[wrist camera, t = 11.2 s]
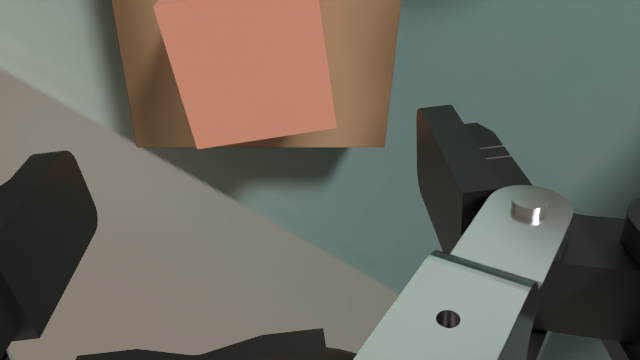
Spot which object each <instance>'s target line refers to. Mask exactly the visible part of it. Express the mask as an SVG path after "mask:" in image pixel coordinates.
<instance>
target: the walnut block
mask: <svg viewBox="0 0 640 360" xmlns="http://www.w3.org/2000/svg"><path fill="white" fill-rule="evenodd" d="M157 1H158V0H112V6H113V11H114V17H115V23H116V29H117V35H118V41H119V46H120V52H121V58H122V64H123V70H124V76H125V82H126V87H127V93H128V99H129V105H130V111H131V117H132V122H133V128H134V134H135V140H136V146H137V147H196V144H195V141H194V137H193V134H192V131H191V128H190V124H189V121H188V118H187V115H186V112H185V108H184V105H183V102H182V99H181V95H180V92H179V89H178V86H177V83H176V79H175V76H174V73H173V70H172V66H171V63H170V60H169V57H168V54H167V50H166V47H165V44H164V41H163V37H162V34H161V31H160V28H159V25H158V21H157V18H156V15H155V12H154V8H153V6H154V5H155V4H156V3H157ZM319 5H320V12H321V20H322V27H323V34H324V41H325V48H326V55H327V62H328V69H329V76H330V83H331V90H332V97H333V104H334V111H335V118H336V125H337V128H334V129H327V130H321V131H314V132H308V133H301V134H295V135H288V136H282V137H275V138H269V139H262V140H256V141H249V142H243V143H236V144H230V145H223V146H217V147H385V138H386V129H387V121H388V112H389V103H390V94H391V86H392V77H393V68H394V59H395V50H396V42H397V33H398V24H399V15H400V7H401V0H319Z"/></svg>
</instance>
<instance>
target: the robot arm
mask: <svg viewBox="0 0 640 360" xmlns="http://www.w3.org/2000/svg"><path fill="white" fill-rule="evenodd" d="M417 174H418V182H419V188H420V192H421V195H422V198H423V200H424V203H425V206H426V208H427V211H428V213H429V216H430V219H431V221H432V224H433V227H434V229H435V232H436V234H437V237H438V240H439V242H440V245H441V247H442V250H443V252H441V251H438V250H435V251H433V252H432V253H431V254H430V255H429V256H428V257H427V258H426V260H425V261H424V262H423V264H422V265H421V267H420V268H419V269H418V271H417V272H416V273H415V275H414V276H413V278H412V279H411V280H410V282H409V283H408V285H407V286H406V287H405V289H404V290H403V291H402V293H401V294H400V296H399V297H398V298H397V300H396V301H395V302H394V304H393V305H392V307H391V308H390V309H389V311H388V312H387V314H386V315H385V316H384V318H383V319H382V320H381V322H380V323H379V325H378V326H377V327H376V329H375V330H374V332H373V333H372V334H371V336H370V337H369V338H368V340H367V341H366V343H365V344H364V345H363V347H362V348H361V349H360V351H359V352H358V354H356V353H352V352H349V351H345V350H341V349H335V348H328V347H326V344H325V338H324V332H323V328H321V329H312V330H303V331H295V332H285V333H277V334H268V335H261V336H258V337H255V338H252V339H249V340H245V341H242V342H240V343H236V344H233V345H230V346H227V347H224V348H221V349H218V350H214V351H211V352H208V353H205V354H201V355H184V354H175V353H166V352H157V351H149V350H140V349H134V350H126V351H118V352H108V353H99V354H90V355H81V356H77V358H76V360H541V357H542V355H543V352H544V350H545V347H546V344H547V342H548V339H549V337H550V334H551V331H552V332H559V333H566V334H572V335H579V336H586V337H593V338H599V339H601V340H602V342H603V344H604V346H605V348H606V349H607V351H608V353H609V355H610V357H611V358H612V360H640V198H638V199H636V200H635V201H633V202H632V203H631V204H630V205H629V208H628V211H627V215H626V219H618V218H606V217H594V216H585V215H579V214H574V213H573V209H572V206H571V204H570V203H569V202H568V201H567V200H566V199H565V198H564V197H563V196H561V195H560V194H558V193H556V192H554V191H552V190H549V189H546V188H542V187H538V186H533V185H532V184H531V183H530V181H529V180H528V178H527V177H526V176H525V174H524V173H523V172H522V170H521V169H520V168H519V166H518V165H517V163H516V162H515V161H514V159H513V158H512V157H510V154H509V152H508V151H507V150H506V148H505V147H503V146H502V143H501V142H500V140H499V139H498V137H497V136H496V135H495V133H494V132H493V131H491V130H489V129H487V128H485V127H483V126H482V125H480V124H478V123H471V124H464V123H463V122H462V120H461V119H460V117H459V116H458V114H457V112H456V111H455V109H454V108H453V106H452V105H444V106H436V107H427V108H419V109H418V110H417ZM96 228H97V211H96V207H95V204H94V202H93V199H92V197H91V195H90V192H89V190H88V188H87V185H86V183H85V180H84V178H83V176H82V173H81V171H80V169H79V166H78V164H77V161H76V159H75V157H74V156H73V155H72V153H70V152H69V151H58V152H49V153H41V154H33V155H32V156H30V157H29V158H28V159H27V161H26V162H25V163H24V164H23V165H22V166H21V168H20V169H19V170H18V171H17V172H16V173H15V174H14V176H13V177H12V178H11V179H10V180H9V181H7V182H6V183H4V184H3V185H1V186H0V360H14V358H13V357H12V355H11V354H10V352H9V350H8V349H7V348H8V346H9V345H10V343H11V341H19V340H28V339H36V338H40V336H41V334H42V333H43V331H44V329H45V327H46V325H47V323H48V321H49V319H50V318H51V315H52V314H53V312H54V310H55V308H56V306H57V304H58V302H59V300H60V298H61V297H62V295H63V293H64V291H65V289H66V287H67V285H68V283H69V281H70V279H71V278H72V275H73V274H74V272H75V270H76V268H77V266H78V264H79V262H80V260H81V258H82V256H83V255H84V253H85V251H86V249H87V247H88V245H89V243H90V241H91V239H92V237H93V236H94V234H95V231H96Z"/></svg>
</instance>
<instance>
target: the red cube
mask: <svg viewBox="0 0 640 360" xmlns="http://www.w3.org/2000/svg"><path fill="white" fill-rule="evenodd" d="M153 8H154V12H155V15H156V18H157V21H158V25H159V28H160V31H161V34H162V37H163V41H164V44H165V47H166V50H167V54H168V57H169V60H170V63H171V66H172V70H173V73H174V76H175V79H176V83H177V86H178V89H179V92H180V95H181V99H182V102H183V105H184V108H185V112H186V115H187V118H188V121H189V124H190V128H191V131H192V134H193V137H194V141H195V144H196V147H197V149H204V148H210V147H217V146H223V145H230V144H236V143H243V142H249V141H256V140H262V139H269V138H275V137H282V136H288V135H295V134H301V133H308V132H314V131H321V130H327V129H334V128H337V125H336V118H335V111H334V104H333V97H332V90H331V83H330V76H329V69H328V62H327V55H326V48H325V41H324V34H323V27H322V20H321V12H320V5H319V0H158V1H157V3H156V4H155V5H154V6H153Z"/></svg>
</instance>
